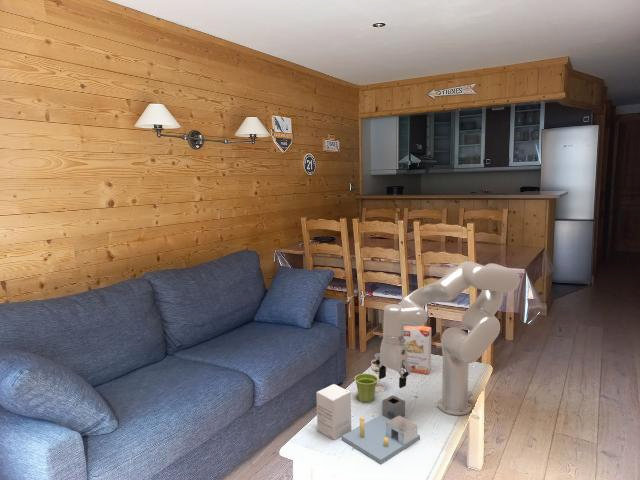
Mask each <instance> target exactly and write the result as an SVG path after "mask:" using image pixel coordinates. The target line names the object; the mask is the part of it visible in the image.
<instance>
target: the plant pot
mask: <svg viewBox="0 0 640 480" xmlns="http://www.w3.org/2000/svg"><path fill="white" fill-rule="evenodd" d="M354 381H355V384H356V389H357V394H358V395H357V396H358V399H359V401H361V402H362V403H366V402H373V401H374V400H375V393H376V391H375V388H376V386H377V384H378V382H379V378H378V376H376V375H374V374H373V373H372V374H371V373H359V374H357V375H356V376H355V377H354Z"/></svg>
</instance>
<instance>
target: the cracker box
mask: <svg viewBox="0 0 640 480" xmlns="http://www.w3.org/2000/svg"><path fill="white" fill-rule="evenodd" d="M404 339H405V340H406V341H405V344H406V349H407V363H408V364H409V365H410V366H411V367H412V371H411V373H416V374H423V375H429V373H430V372H431V364H432V327H431V326H426V325H425V326H424V325H422V326H418V327H414V326H404ZM405 370H406V371H407V369H405Z"/></svg>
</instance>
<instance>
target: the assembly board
mask: <svg viewBox="0 0 640 480" xmlns="http://www.w3.org/2000/svg"><path fill="white" fill-rule="evenodd" d="M388 421H390V419H388V418H386V417H384V416H382V414H379V415H377V416H376V417H374V418H373V419H370V420H368V421H366V422H365V417H363V416H361V417H359V426H357V427H355V428H353V429H351V431H349V432H347V433H346V434H344V435H342V436H341V441H343V442H345V443H346V444H348V445H350V446H351V447H353V448H354V449H356V450H358V451H359V452H360V453H362V454H364V455H365V456H367V457H368V458H369V459H372V460H373V461H375V462H376V463H378V464H379V465H382V464H383V463H385V462H387V461H389V460H390V459H391V458H393V457H394V456H396V455H397V454H399V453H401V452H402V451H404V450H406V449H407V448H409V447H410V446H411V445H413V444H414V443H416V442H418V441H419V440H420V439H421V435H420V434H418V433H417V437H416V438H414V439H413V440H411V441H410V442H408V443H407V444H405V445H403V444H401V443H400V442H398V434H397V435H395V436H394V437H392V438H391V437H389V436H387V435H386V422H388Z"/></svg>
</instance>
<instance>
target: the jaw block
mask: <svg viewBox="0 0 640 480" xmlns="http://www.w3.org/2000/svg"><path fill="white" fill-rule="evenodd" d="M381 405H382V406H381V407H382V408H381V410H382V411H381V412H382V413H381V415H382V416H384V417H386V418H388V419H390V420H392V419H393V418H395V417H397V416H401V417H403V418H405V417H406V400H403V399H402V398H399V397H397V396H395V395H391V396H388V397H387V398H385V399H383V400H382V401H381Z"/></svg>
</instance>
